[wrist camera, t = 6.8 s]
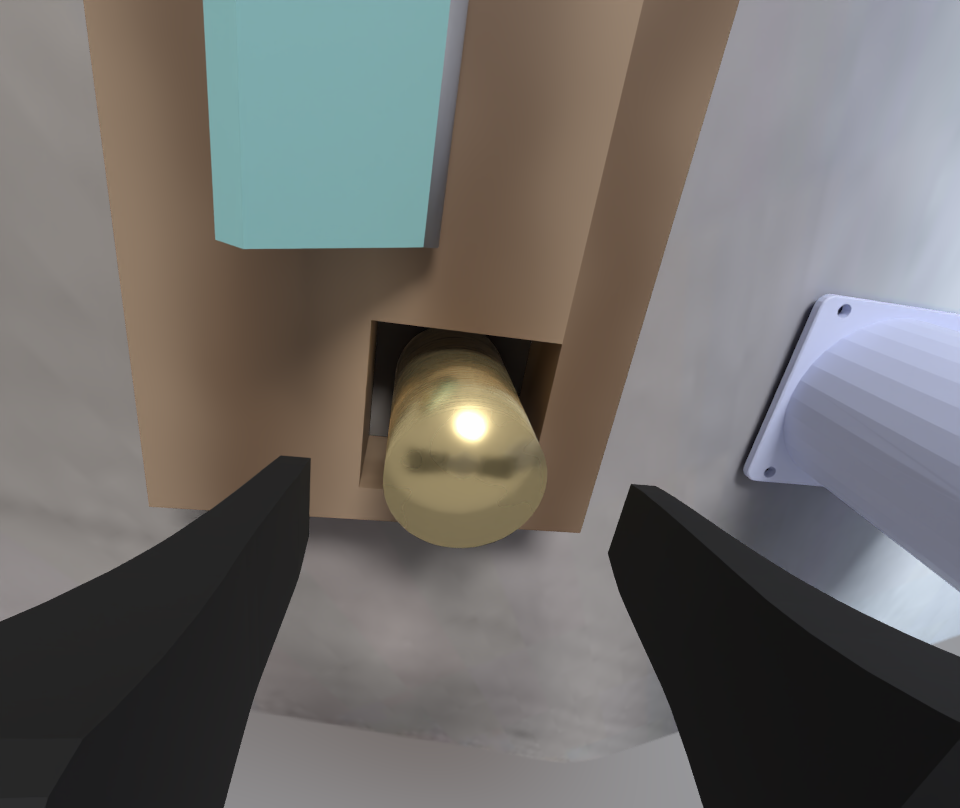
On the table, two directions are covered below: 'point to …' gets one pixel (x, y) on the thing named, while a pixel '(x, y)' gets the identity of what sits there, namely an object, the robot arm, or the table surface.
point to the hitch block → (404, 271)
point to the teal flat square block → (331, 120)
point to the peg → (459, 443)
